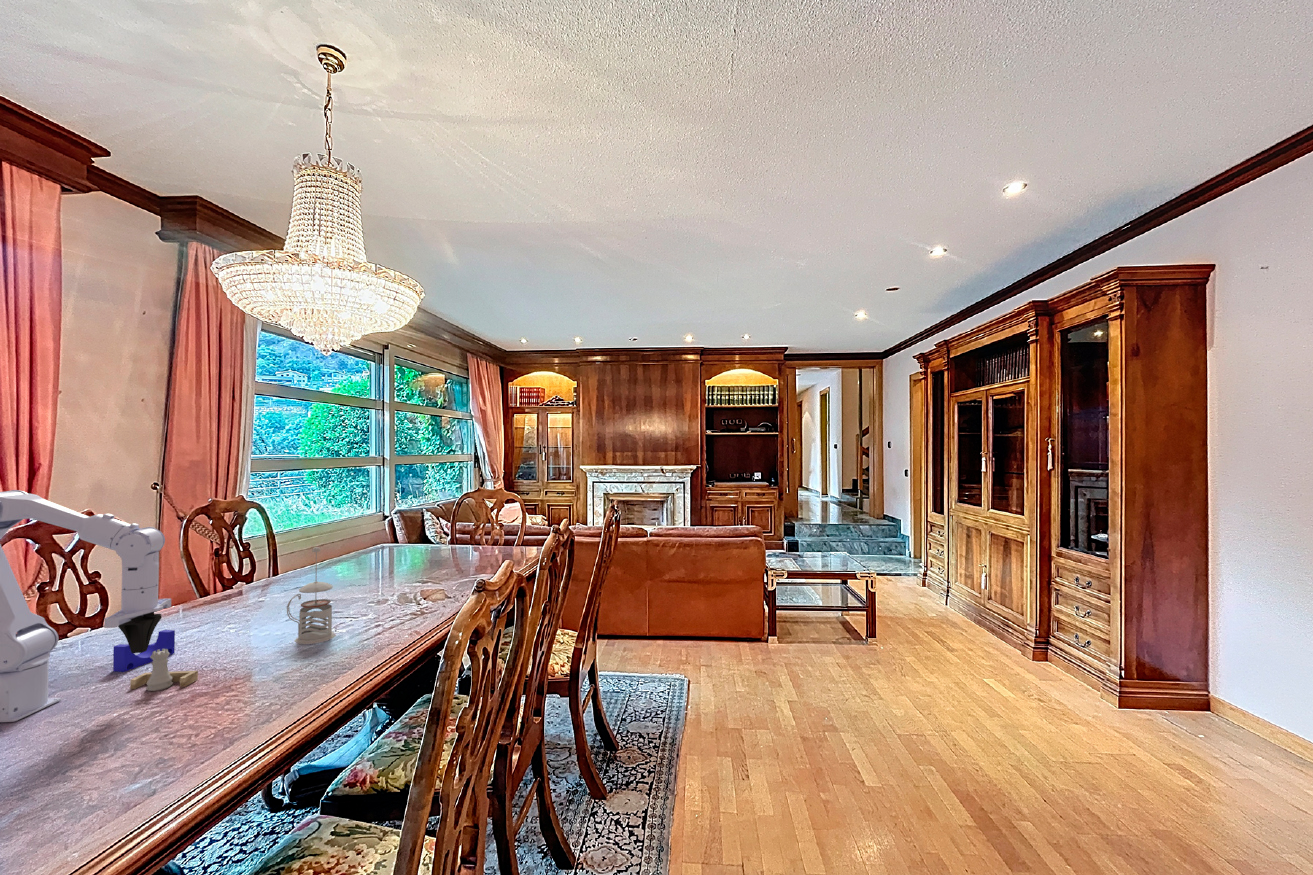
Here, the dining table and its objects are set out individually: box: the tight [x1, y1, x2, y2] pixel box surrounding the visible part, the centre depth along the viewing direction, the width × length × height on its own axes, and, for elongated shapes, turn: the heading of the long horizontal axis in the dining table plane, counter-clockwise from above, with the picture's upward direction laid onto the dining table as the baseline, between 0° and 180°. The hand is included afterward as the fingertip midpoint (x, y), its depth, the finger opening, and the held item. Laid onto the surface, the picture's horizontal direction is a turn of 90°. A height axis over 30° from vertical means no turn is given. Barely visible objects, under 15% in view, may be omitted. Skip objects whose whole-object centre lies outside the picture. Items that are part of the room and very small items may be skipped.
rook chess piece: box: [145, 649, 174, 692], centre depth 123 cm, size 4×4×8 cm
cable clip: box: [112, 629, 176, 673], centre depth 138 cm, size 12×4×6 cm, turn 173°
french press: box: [286, 546, 337, 645], centre depth 155 cm, size 10×12×25 cm
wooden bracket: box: [129, 670, 199, 690], centre depth 124 cm, size 4×11×2 cm, turn 95°
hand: (139, 651), depth 118 cm, fingers closed
